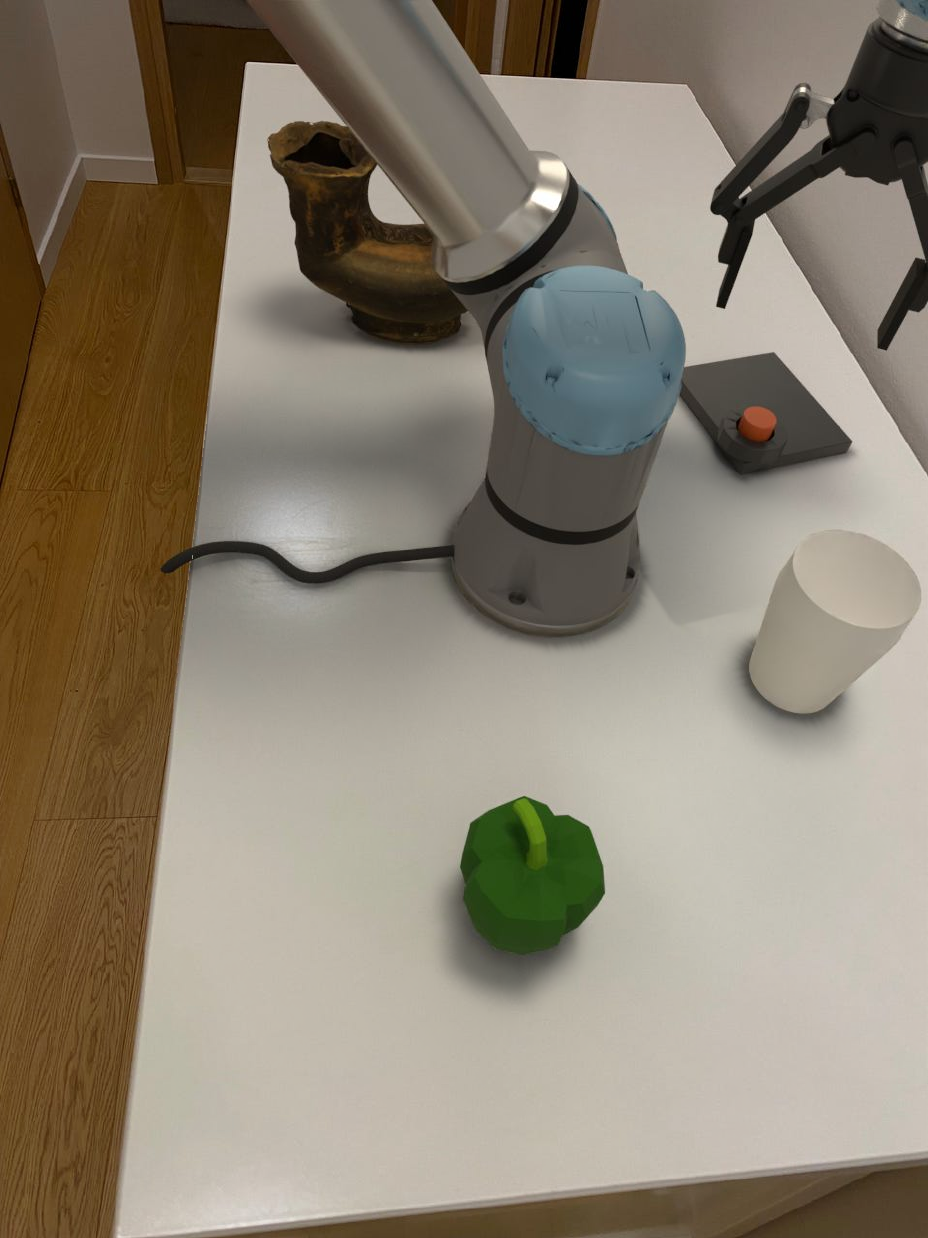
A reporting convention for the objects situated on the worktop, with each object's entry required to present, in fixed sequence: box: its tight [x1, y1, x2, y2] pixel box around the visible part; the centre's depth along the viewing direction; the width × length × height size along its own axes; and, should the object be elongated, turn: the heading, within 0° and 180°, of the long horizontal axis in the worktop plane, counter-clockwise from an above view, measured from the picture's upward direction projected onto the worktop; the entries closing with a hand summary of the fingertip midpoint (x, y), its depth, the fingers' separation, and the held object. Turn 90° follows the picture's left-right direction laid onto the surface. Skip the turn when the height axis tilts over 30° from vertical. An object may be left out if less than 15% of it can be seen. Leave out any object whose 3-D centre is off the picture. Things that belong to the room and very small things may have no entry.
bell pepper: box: [459, 795, 606, 956], centre depth 56 cm, size 8×8×10 cm
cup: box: [748, 529, 923, 714], centre depth 68 cm, size 9×9×12 cm
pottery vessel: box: [266, 120, 469, 345], centre depth 89 cm, size 25×11×20 cm, turn 94°
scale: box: [679, 351, 853, 475], centre depth 91 cm, size 13×14×3 cm
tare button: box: [738, 407, 777, 442], centre depth 86 cm, size 3×3×2 cm
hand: (801, 319), depth 77 cm, fingers open, 12 cm apart
